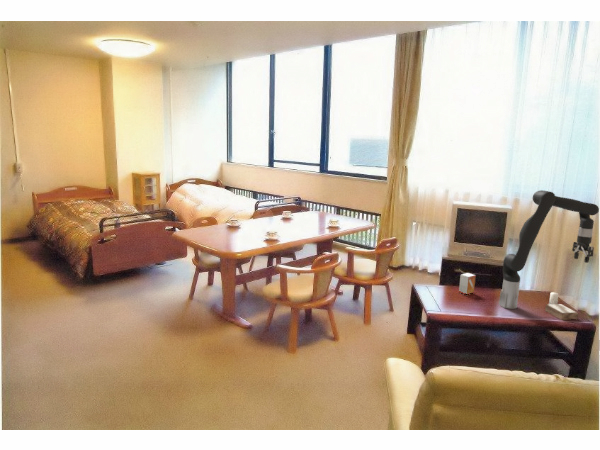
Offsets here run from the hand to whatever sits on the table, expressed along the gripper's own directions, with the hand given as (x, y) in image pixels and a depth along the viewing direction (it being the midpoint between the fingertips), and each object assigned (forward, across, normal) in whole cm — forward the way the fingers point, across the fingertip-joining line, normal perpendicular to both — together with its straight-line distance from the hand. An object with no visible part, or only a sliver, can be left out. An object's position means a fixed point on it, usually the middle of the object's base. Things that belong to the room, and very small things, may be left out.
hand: (581, 260), depth 268 cm
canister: (+29, 0, -15) cm, 33 cm away
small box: (+30, -25, -60) cm, 71 cm away
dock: (+29, +15, -21) cm, 39 cm away
